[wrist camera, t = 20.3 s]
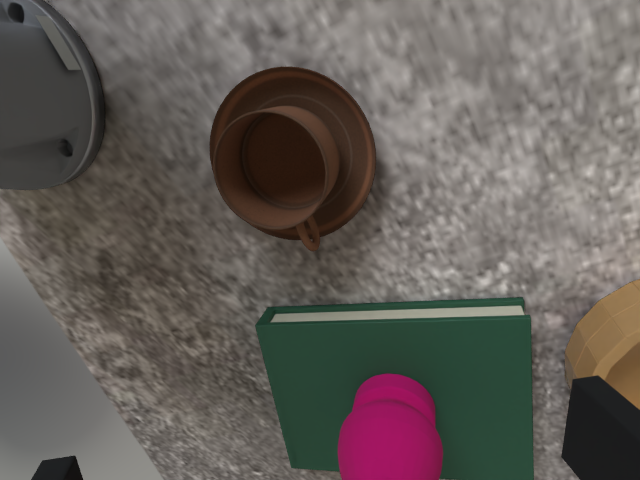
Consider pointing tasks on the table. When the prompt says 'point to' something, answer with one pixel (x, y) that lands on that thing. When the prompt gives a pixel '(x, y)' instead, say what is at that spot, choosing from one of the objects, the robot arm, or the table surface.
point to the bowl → (609, 343)
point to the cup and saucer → (292, 154)
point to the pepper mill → (390, 432)
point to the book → (411, 361)
